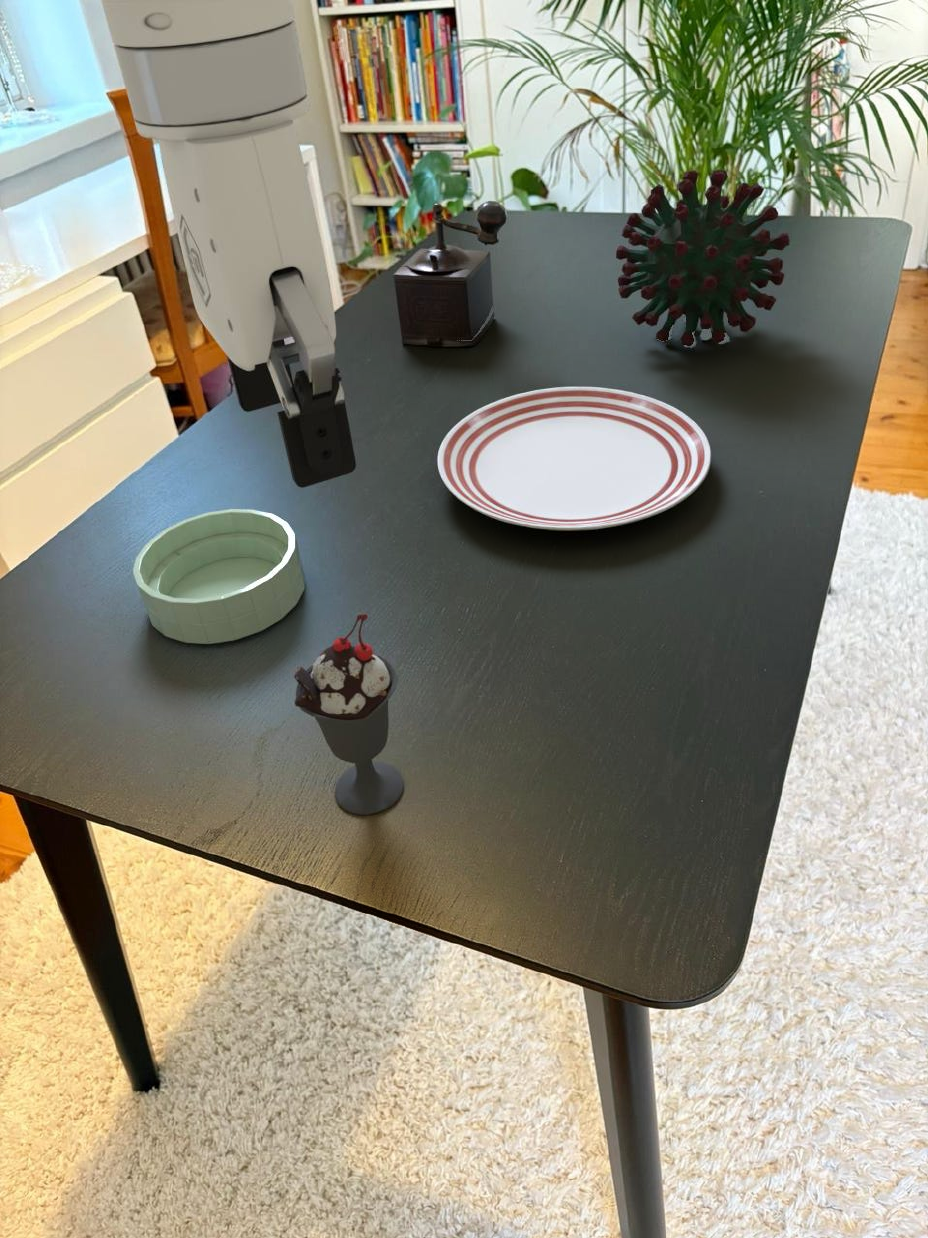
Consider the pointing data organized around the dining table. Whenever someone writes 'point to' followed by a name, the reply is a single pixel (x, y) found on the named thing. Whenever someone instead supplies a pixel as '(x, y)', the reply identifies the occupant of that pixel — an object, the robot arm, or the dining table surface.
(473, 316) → the coffee grinder
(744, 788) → the dining table surface
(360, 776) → the sundae
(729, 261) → the virus model
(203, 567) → the bowl
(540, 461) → the dinner plate
